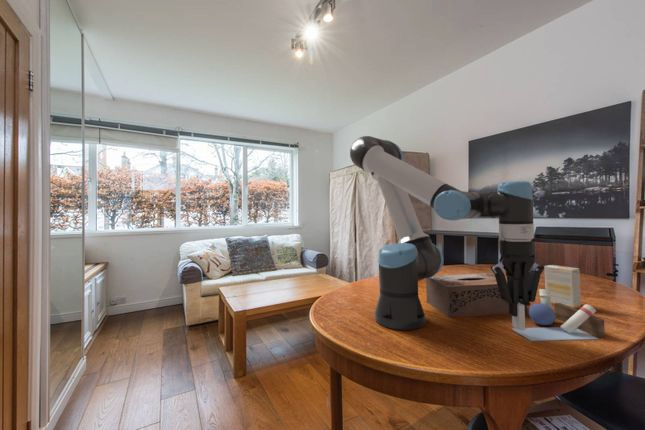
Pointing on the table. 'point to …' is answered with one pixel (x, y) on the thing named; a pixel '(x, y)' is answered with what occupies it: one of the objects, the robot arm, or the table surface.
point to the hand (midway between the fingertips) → (518, 327)
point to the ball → (542, 314)
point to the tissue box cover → (465, 295)
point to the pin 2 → (578, 318)
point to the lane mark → (552, 334)
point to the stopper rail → (590, 325)
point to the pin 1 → (545, 297)
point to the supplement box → (563, 285)
